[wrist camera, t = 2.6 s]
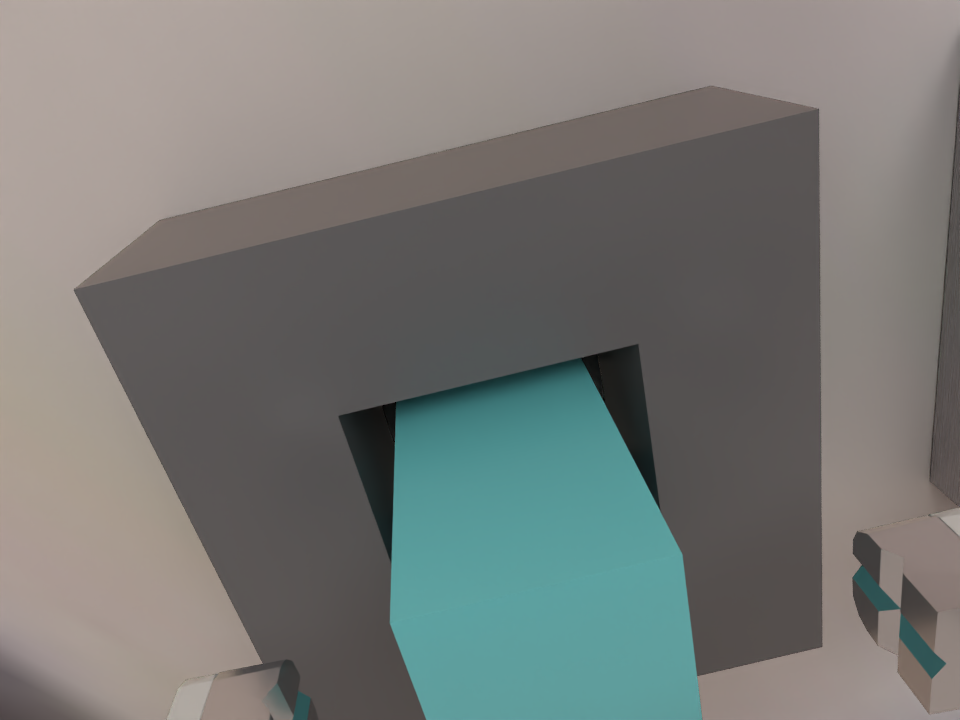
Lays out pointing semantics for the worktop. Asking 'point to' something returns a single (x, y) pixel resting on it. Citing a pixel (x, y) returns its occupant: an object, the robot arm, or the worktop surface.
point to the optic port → (949, 359)
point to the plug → (534, 559)
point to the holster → (492, 362)
